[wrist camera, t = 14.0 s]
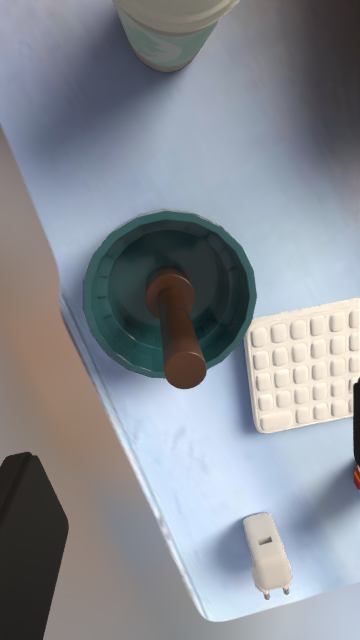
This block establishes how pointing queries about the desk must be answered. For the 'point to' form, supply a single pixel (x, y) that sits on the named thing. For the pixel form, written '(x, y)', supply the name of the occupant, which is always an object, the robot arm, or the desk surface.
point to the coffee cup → (169, 28)
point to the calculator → (303, 365)
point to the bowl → (131, 277)
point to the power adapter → (267, 554)
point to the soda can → (357, 477)
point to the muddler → (176, 326)
